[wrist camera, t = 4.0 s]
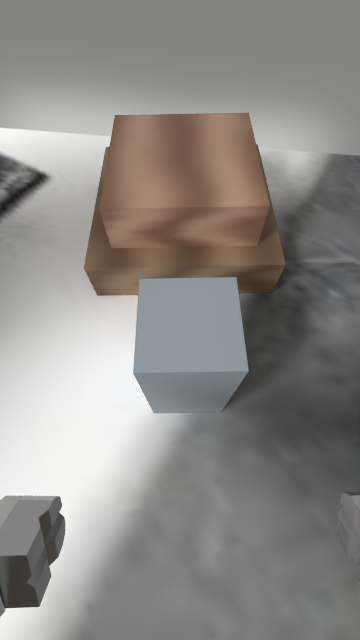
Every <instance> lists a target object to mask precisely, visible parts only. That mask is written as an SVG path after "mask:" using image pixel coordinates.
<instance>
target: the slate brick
mask: <svg viewBox="0 0 360 640" xmlns="http://www.w3.org/2000/svg"><path fill="white" fill-rule="evenodd" d="M248 371H249V370H248V363H247V355H246V347H245V340H244V332H243V324H242V317H241V309H240V301H239V294H238V286H237V278H236V277H222V278H159V279H139V294H138V309H137V324H136V339H135V355H134V370H133V373H134V375H135V377H136V379H137V381H138V383H139V385H140V387H141V389H142V391H143V393H144V395H145V397H146V399H147V401H148V403H149V405H150V407H151V408H152V410H153V412H154V413H209V412H222V410H223V409H224V407H225V406H226V404H227V403H228V401H229V400H230V398H231V397H232V395H233V394H234V392H235V391H236V389H237V388H238V386H239V385H240V383H241V382H242V380H243V379H244V377H245V376H246V374H247V373H248Z"/></svg>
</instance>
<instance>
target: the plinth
mask: <svg viewBox="0 0 360 640" xmlns="http://www.w3.org/2000/svg"><path fill="white" fill-rule="evenodd" d="M285 265H286V263H285V259H284V255H283V251H282V246H281V242H280V238H279V234H278V229H277V225H276V221H275V217H274V212H273V208H272V204H271V200H270V195H269V191H268V187H267V183H266V179H265V174H264V170H263V166H262V162H261V157H260V153H259V149H258V145H256V143H255V139H254V134H253V130H252V125H251V121H250V117H249V113H217V114H162V115H115V119H114V124H113V130H112V136H111V142H110V147H106V150H105V155H104V161H103V166H102V172H101V177H100V183H99V188H98V194H97V199H96V205H95V210H94V216H93V221H92V227H91V232H90V238H89V243H88V249H87V254H86V260H85V265H84V269H85V271H86V273H87V275H88V277H89V279H90V281H91V283H92V285H93V287H94V289H95V291H96V293H97V295H138V294H139V279H159V278H222V277H236V278H237V286H238V293H272V291H273V289H274V287H275V285H276V283H277V281H278V279H279V277H280V275H281V273H282V271H283V269H284V267H285Z"/></svg>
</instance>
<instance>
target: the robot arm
mask: <svg viewBox="0 0 360 640" xmlns="http://www.w3.org/2000/svg"><path fill="white" fill-rule="evenodd" d="M340 504H341V506H342V508H343V509H342V510H341V511H340V512H339V513H338V514H337V519H336V528H337V534H338V537H339V540H340V543H341V545H342V547H343V549H344V551H345V553H346V554H347V555H348V556H349V557H350V558H351V559H352V560H353V561H355V562H356V563H357V565H356V574H357V576H358V578H359V580H360V492H344V493H343V494H342V495H341V497H340ZM61 507H62V503H61V499H60V497H58V496H5V497H4V498H3V499H1V500H0V616H1V615H2V614H3V613H4V612H5V608H23V607H39V606H40V604H41V601H42V599H43V596H44V593H45V591H46V588H47V585H48V583H49V580H50V578H51V573H50V568H49V566H50V565H51V564H52V563H53V562H54V561H55V560H56V559H57V558H58V556H59V554H60V551H61V548H62V545H63V540H64V535H65V519H64V517H63V516H62V515H61V514H60V513H59V511H60V509H61Z"/></svg>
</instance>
